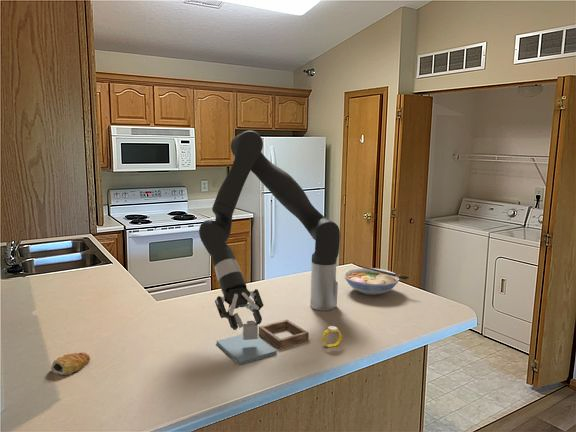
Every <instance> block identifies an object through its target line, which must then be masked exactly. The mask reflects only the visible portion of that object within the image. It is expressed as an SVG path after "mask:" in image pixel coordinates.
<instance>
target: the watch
mask: <svg viewBox="0 0 576 432" xmlns="http://www.w3.org/2000/svg"><path fill="white" fill-rule="evenodd" d="M331 332H332V333H333V332H334V333H335V332H338V338H337V339H338V340H337V341H336V342H335V343H329V344H327V343H326V342H325V338H326V336H327V334H329V333H331ZM342 339H343V335H342V333H341V331H340V330H339V328H338V327H337V326H334V325H330V326H328V327H327V329H325V330H324V331H323V333H322V336H321V341H322V343H323V345H324V346H325V347H327V348H335V347H336V348H337V347H339V345H340V344H341V342H342Z"/></svg>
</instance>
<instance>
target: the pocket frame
mask: <svg viewBox="0 0 576 432" xmlns="http://www.w3.org/2000/svg"><path fill="white" fill-rule="evenodd" d="M283 329H287V330H288V331H290V332H291V333H294V334H293V335H289V336H285V337H282V338H280V337H278V336H277V335H276V334H274V333H273V332H276V331H280V330H283ZM258 335H260V336H261V337H263V338H264V339H265V340H267V341H268V342H270V343H271V344H273V345H274V347H276V348H277V349H282V348H285V347H289V346H292V345H295V344H300V343H303V342H305V341H306V342H307V341H308V340H309V336H310V333H309V332H308V331H307V330H305V329H304V328H302V327H300V326H298V325H297V324H296V323H295V322H294V323H293V322H292V321H290V320H289V319H284V320H280V321H277V322H272V323H267V324H264V325H260V326H259V325H258Z"/></svg>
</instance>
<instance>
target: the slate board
mask: <svg viewBox="0 0 576 432" xmlns="http://www.w3.org/2000/svg"><path fill="white" fill-rule="evenodd" d="M216 345H217V346H218V347H219V348H220V349H222V351H223V352H225V354H227V355H228V356H230V358H231V359H233V360H234V361H235V362H236V363H237V364H238V365H239V366H241V365H245V364H247V363H251V362H254V361H257V360H262V359H264V358H268V357H270V356H274V355H277V353H278V352H277V350H276V349H275V348H274V347H272V346H271V345H269V344H268V343H267V342H265V341H264V340H263V339H261V338H260V337H259V336H258V338H257V339H251V340H244V339H243V333H241V334H238V335H235V336H229V337H227V338H223V339H222V338H221V339H219V340H216Z"/></svg>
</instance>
